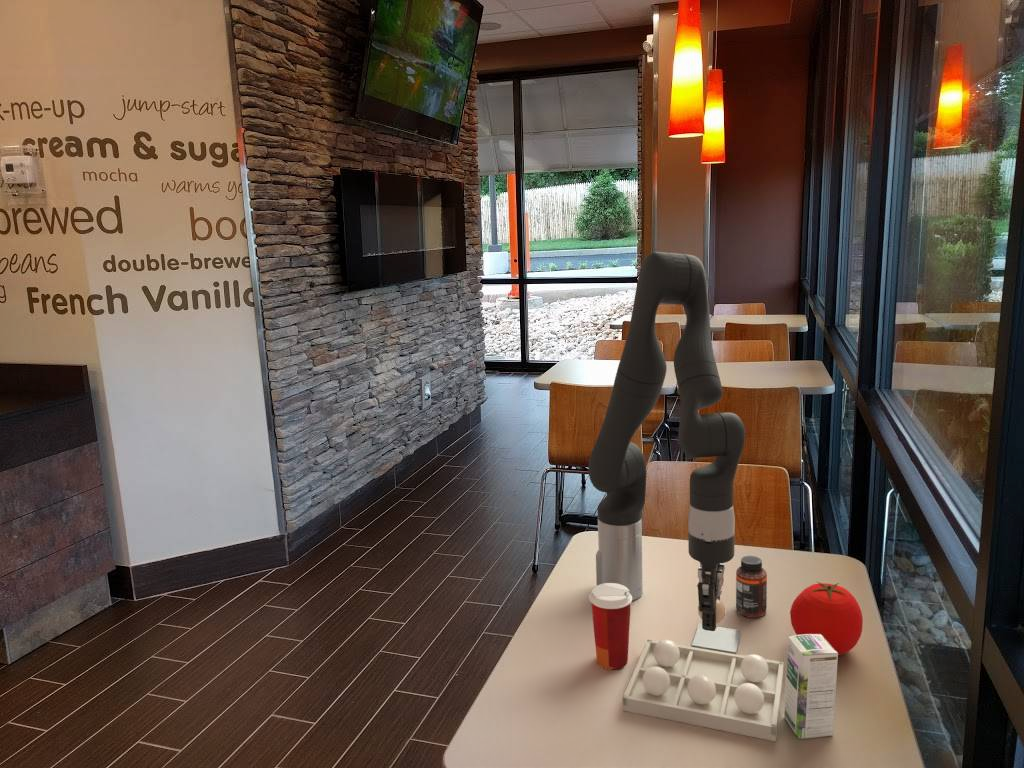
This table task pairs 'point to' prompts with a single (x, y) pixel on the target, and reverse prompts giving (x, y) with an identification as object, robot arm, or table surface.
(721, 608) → the brown egg
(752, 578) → the supplement bottle
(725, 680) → the carton
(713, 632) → the slate coaster
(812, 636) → the syrup box
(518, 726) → the table surface
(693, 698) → the white egg front middle
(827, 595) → the tomato
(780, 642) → the table surface
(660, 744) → the table surface
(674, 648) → the white egg back left
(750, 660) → the white egg back right
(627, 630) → the paper cup
